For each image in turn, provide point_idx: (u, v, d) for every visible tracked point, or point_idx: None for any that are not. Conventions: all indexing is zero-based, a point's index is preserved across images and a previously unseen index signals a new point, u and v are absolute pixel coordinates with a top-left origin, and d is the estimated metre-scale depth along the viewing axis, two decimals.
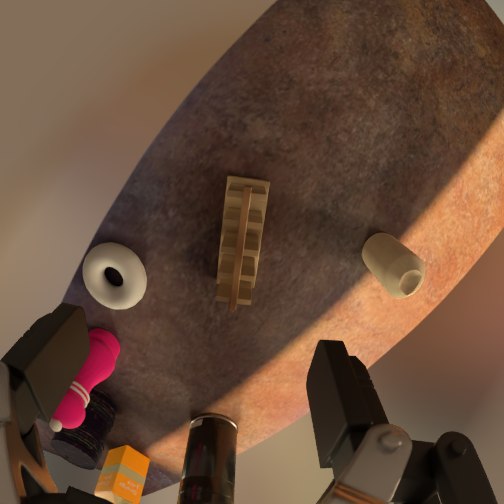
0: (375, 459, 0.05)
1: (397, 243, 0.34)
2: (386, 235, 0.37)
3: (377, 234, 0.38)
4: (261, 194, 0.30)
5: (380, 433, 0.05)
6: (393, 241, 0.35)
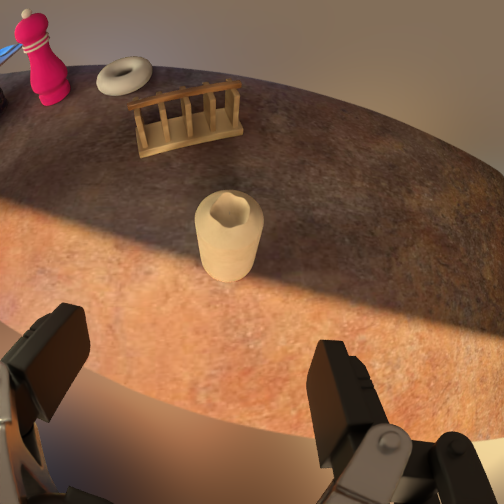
0: (375, 459, 0.05)
1: None
2: None
3: None
4: (238, 93, 0.33)
5: (380, 433, 0.05)
6: None
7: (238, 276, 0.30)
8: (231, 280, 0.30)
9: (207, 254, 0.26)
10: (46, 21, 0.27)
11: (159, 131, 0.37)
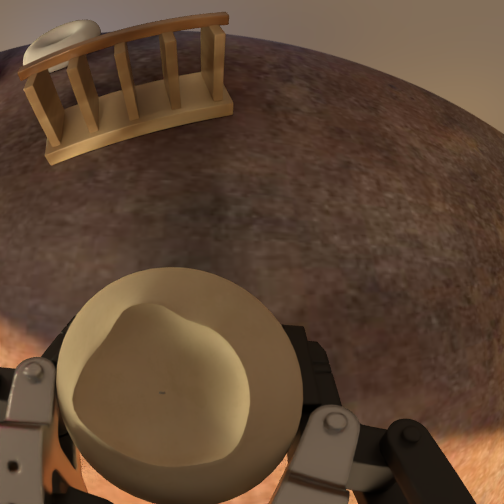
0: (323, 441, 0.05)
1: None
2: None
3: None
4: (222, 31, 0.15)
5: (326, 414, 0.06)
6: None
7: None
8: None
9: None
10: None
11: None
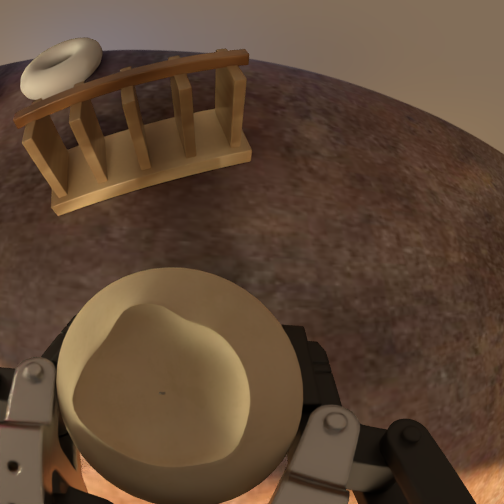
0: (323, 441, 0.05)
1: None
2: None
3: None
4: (242, 75, 0.15)
5: (326, 414, 0.06)
6: None
7: None
8: None
9: None
10: None
11: None
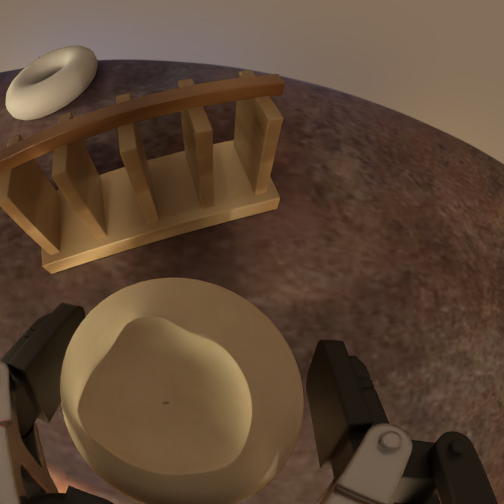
0: (375, 459, 0.05)
1: None
2: None
3: None
4: (277, 111, 0.12)
5: (380, 433, 0.05)
6: None
7: None
8: None
9: None
10: None
11: None
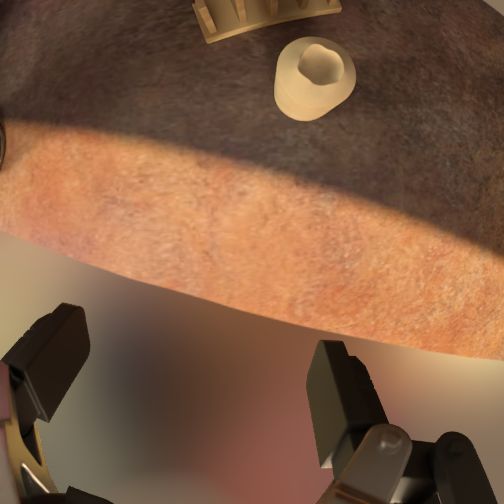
0: (375, 459, 0.05)
1: None
2: None
3: None
4: None
5: (380, 433, 0.05)
6: None
7: None
8: (308, 120, 0.26)
9: (289, 103, 0.21)
10: None
11: (228, 8, 0.22)
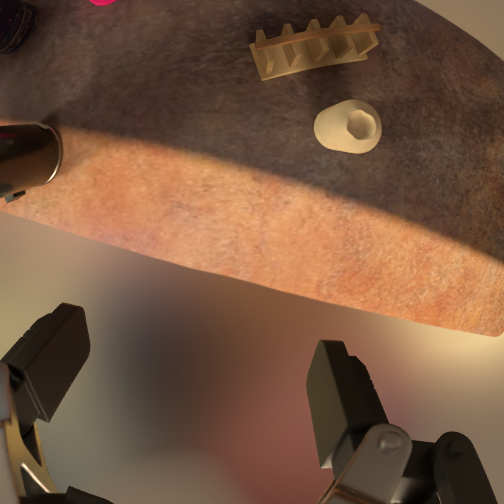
0: (375, 459, 0.05)
1: None
2: None
3: None
4: (376, 39, 0.25)
5: (380, 433, 0.05)
6: None
7: None
8: None
9: (332, 144, 0.30)
10: None
11: (279, 52, 0.30)
